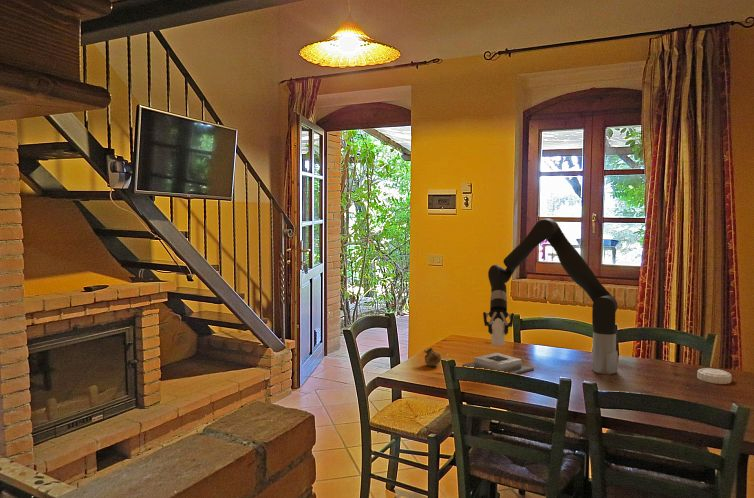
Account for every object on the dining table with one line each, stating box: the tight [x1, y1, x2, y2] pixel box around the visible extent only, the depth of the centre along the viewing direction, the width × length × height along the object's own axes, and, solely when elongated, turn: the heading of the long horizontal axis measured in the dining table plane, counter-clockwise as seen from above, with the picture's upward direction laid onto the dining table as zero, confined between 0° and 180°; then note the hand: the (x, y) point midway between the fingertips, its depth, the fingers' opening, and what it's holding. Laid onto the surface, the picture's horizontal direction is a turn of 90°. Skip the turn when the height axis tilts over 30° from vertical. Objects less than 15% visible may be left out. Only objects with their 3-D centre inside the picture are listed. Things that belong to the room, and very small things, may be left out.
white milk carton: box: [490, 318, 506, 347], centre depth 239 cm, size 6×12×6 cm
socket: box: [461, 352, 535, 375], centre depth 240 cm, size 22×22×4 cm
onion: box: [423, 347, 442, 367], centre depth 244 cm, size 8×8×8 cm
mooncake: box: [696, 367, 732, 385], centre depth 223 cm, size 12×12×4 cm
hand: (498, 333), depth 237 cm, fingers closed on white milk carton, 6 cm apart
